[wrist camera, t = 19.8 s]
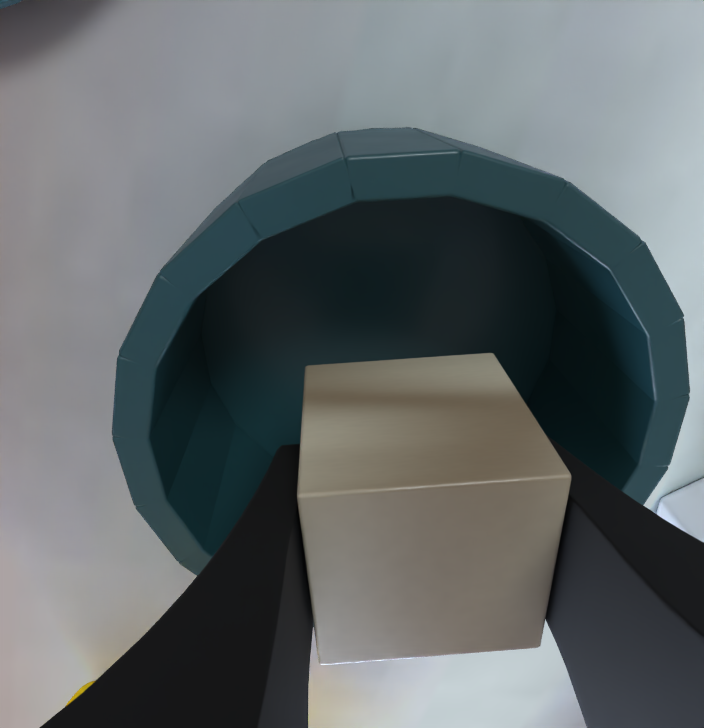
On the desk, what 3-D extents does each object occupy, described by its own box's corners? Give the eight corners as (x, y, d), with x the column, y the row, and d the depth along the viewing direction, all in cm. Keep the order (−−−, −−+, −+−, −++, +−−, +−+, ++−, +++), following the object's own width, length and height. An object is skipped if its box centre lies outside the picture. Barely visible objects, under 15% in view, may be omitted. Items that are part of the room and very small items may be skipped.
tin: (218, 502, 20) (180, 650, 15) (135, 142, 14) (23, 175, 9) (547, 477, 20) (626, 614, 15) (605, 113, 14) (771, 129, 9)
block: (319, 507, 13) (318, 667, 10) (304, 364, 12) (295, 495, 8) (481, 495, 14) (541, 649, 10) (493, 351, 12) (573, 475, 8)
